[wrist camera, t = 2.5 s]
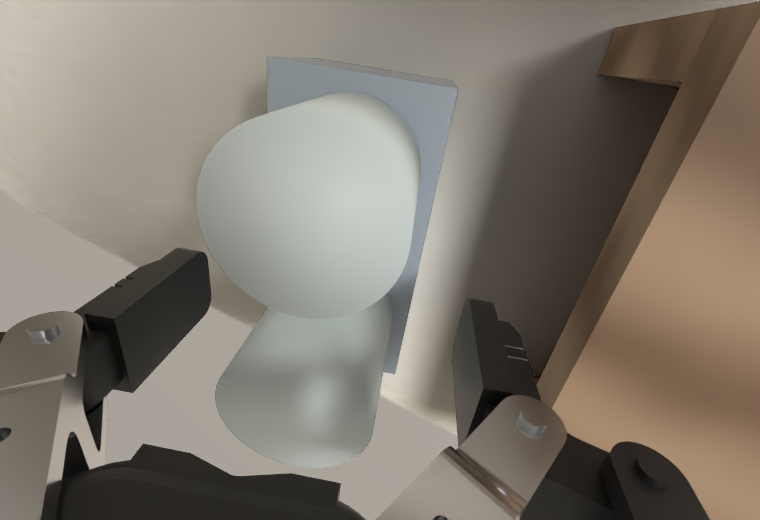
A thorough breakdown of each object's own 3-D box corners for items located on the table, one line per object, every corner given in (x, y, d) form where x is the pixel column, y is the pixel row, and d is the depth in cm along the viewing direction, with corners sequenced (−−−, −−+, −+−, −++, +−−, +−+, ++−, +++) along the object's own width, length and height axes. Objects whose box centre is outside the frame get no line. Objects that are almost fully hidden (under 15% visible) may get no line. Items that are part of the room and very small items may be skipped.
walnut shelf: (616, 27, 13) (768, -1, 7) (976, 83, 13) (1478, 104, 7) (479, 386, 22) (496, 513, 16) (690, 429, 21) (792, 579, 15)
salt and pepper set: (316, 58, 15) (150, 54, 6) (451, 80, 15) (473, 110, 6) (304, 286, 20) (204, 455, 12) (404, 305, 20) (379, 494, 11)
